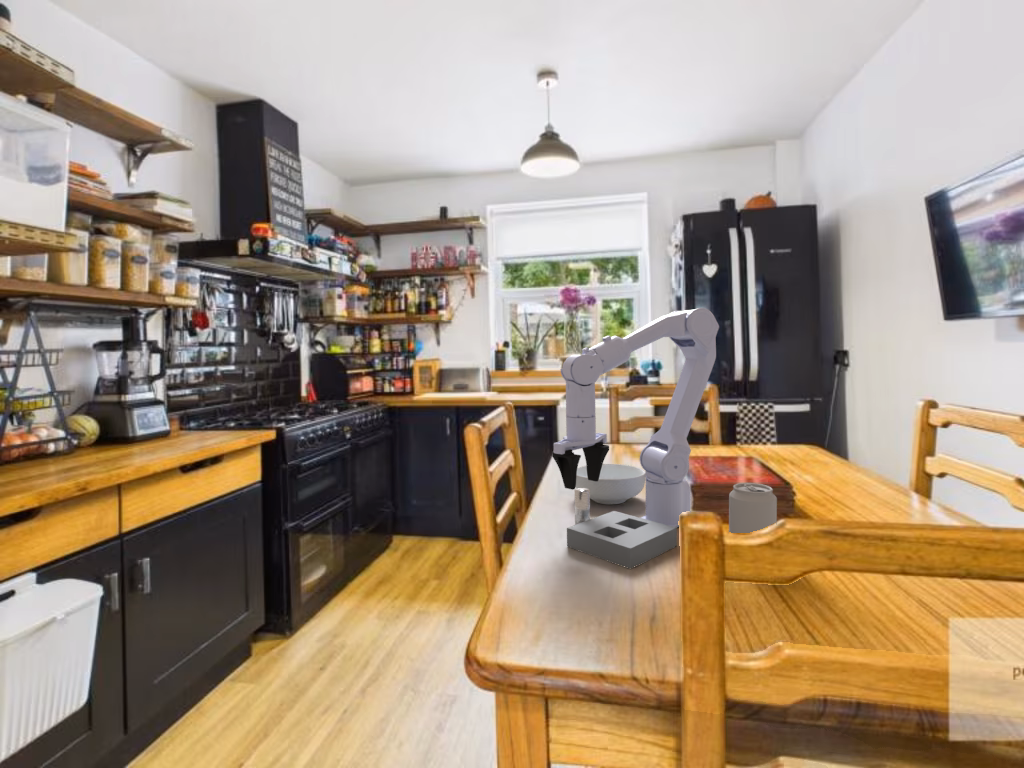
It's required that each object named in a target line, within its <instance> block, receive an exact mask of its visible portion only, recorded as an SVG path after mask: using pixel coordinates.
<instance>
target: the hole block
mask: <svg viewBox="0 0 1024 768" xmlns="http://www.w3.org/2000/svg"><path fill="white" fill-rule="evenodd" d="M677 528H678V527H673V526H669V525H665V524H661V523H658V522H654V521H650V520H646V519H643V518H640V517H638V516H635V515H631V514H627V513H624V512H621V511H616V510H612V511H610V512H607V513H603V514H601V515H599V516H598V515H597V516H596V517H593V518H590V520H587V521H584V522H582V523H579V524H576V525H575V524H574V525H572V526H571V525H570V526H568V527H566V547H567V546H568V547H567V548H570V547H571V549H573V550H576V549H577V550H576V551H578V550H579V551H578V552H581V551H582V552H581V553H585V554H586V555H589V554H590V556H593V557H595V558H598V559H601V558H602V559H601V560H603V559H605V560H604V561H606V560H608V561H607V562H609V561H610V562H609V563H612V562H613V564H615V563H616V564H615V565H617V564H619V565H618V566H620V565H622V566H621V567H623V566H625V567H624V568H626V567H628V568H627V569H629V568H632V567H634V566H636V565H638V566H640V565H641V563H642V564H644V563H646V562H648V561H650V560H652V559H654V558H656V557H658V556H660V555H662V554H664V553H666V552H668V551H670V550H672V549H674V548H676V547H677V546H678V545H677V543H678V542H677V541H678V540H677V536H678V535H677V530H678V529H677ZM675 546H676V547H675ZM671 548H672V549H671ZM669 549H670V550H669ZM667 550H668V551H667ZM665 551H666V552H665ZM663 552H664V553H663ZM661 553H662V554H661ZM659 554H660V555H659ZM651 558H652V559H651ZM645 561H646V562H645ZM643 562H644V563H643ZM639 564H640V565H639ZM636 567H637V566H636ZM634 568H635V567H634ZM632 569H633V568H632Z"/></svg>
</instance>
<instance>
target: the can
mask: <svg viewBox="0 0 1024 768" xmlns="http://www.w3.org/2000/svg"><path fill="white" fill-rule="evenodd" d="M732 487H733V489H732V491H730V492H729V494H728V496H729V497H728V533H729V532H731V533H750V532H753V531H757V530H760V529H763V528H765V527H767V526H769V525H771V524H773V523H775V522H776V523H777V520H778V519H777V517H778V516H777V514H778V513H777V511H778V510H777V509H778V506H777V505H778V504H777V503H778V498H777V496H776V495H775V494H774V493H773V491H774V489H773V488H772V487H771V486H769V485H765V484H762V483H756V482H755V483H754V482H739V483H735V484H733V486H732Z"/></svg>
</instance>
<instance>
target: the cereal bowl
mask: <svg viewBox="0 0 1024 768" xmlns="http://www.w3.org/2000/svg"><path fill="white" fill-rule="evenodd" d="M645 485H646V476H645V470H644V469H643V468H642V467H641V468H640V467H638V466H634V465H629V464H619V463H603V464H602V468H601V472H600V476H599V480H598V481H597V482H596V481H591V480H588V476H587V466H586V465H583V466H578V467H577V475H576V487H575V489H577V488H587V489H589V490H590V500H592V501H593V502H595V503H596V504H597V503H598V504H603V505H619V504H623V503H625V502H626V501H627V500H630V499H632V498H634V497H637V496H638V495H639V494H640V493H641V492H642V491H643V489H644V487H645Z"/></svg>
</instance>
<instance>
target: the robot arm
mask: <svg viewBox="0 0 1024 768" xmlns="http://www.w3.org/2000/svg"><path fill="white" fill-rule="evenodd" d="M719 329H720V325H719V323H718V321H717V319H716V317H715V315H714V314H713V313H712V311H710V309H708V308H705V307H698V308H695V309H686V310H674V311H671V312H670V313H669V314H665V315H661V316H660V317H658V318H656V319H654V320H652V321H650V322H649V323H647V324H645V325H644V326H642V327H640V328H638V329H636V330H635V331H633V332H631V333H629V334H628V335H626V336H624V337H620V336H617V335H613V336H611V335H606V336H603V337H602V338H601V340H602V341H601V342H599V343H597V344H595V345H593V346H591V347H584V348H582V349H581V351H582V353H581V354H572V355H569V356H568V357H567V358H566V359H565V361H563V363H562V367H561V368H560V374H561V377H562V378H563V380H564V381H565V417H566V419H565V420H566V421H565V424H566V427H565V428H566V432H565V434H566V435H565V436H562V439H561V440H559V441H557V442H553V451H552V452H551V453H552V454H551V455H552V459H553V460H554V462H555V463H556V465H557V467H558V470H559V471H560V476H561V479H562V482H563V486H564V488H565V489H568V490H571V491H573V490H575V489H576V475H577V468H578V467H579V463H580V460H581V457H582V455H580V454H575V452H574V451H576V450H579V449H580V450H581V449H582V451H583V455H584V459H585V466H587V476H588V480H591V481H596V482H597V481H598V480H599V476H600V472H601V468H602V464H604V461H605V459H606V456H607V454H608V453H609V452H610V445H609V444H607V443H608V442H607V433H602V432H597V430H596V429H597V428H596V427H597V426H596V425H597V424H596V419H597V418H596V382H598V380H599V378H600V376H602V375H604V374H606V373H608V372H610V371H612V370H613V369H616V368H617V367H620V366H621V365H623V364H625V363H627V362H628V361H629V359H630V356H631V354H632V353H633V352H635V351H637V350H639V349H641V348H643V347H645V346H648V345H650V344H652V343H653V342H656V341H658V340H660V339H663V338H669V339H670V340H671V341H672V342H673V344H675V345H676V346H677V347H678V349H680V350H681V352H682V354H683V356H684V358H685V361H684V365H683V367H682V370H681V372H680V374H679V377H678V379H677V383H676V385H675V389H674V391H673V394H672V396H671V400H670V402H669V404H668V407H667V411H666V413H665V415H664V417H663V421H662V424H661V426H660V429H659V430H658V431H657V432H655V433H654V434H652V435H651V436H650V439H649V441H648V443H647V444H646V445H645V446H644V447H643V449H641V452H640V455H639V463H640V466H641V469H643V470H644V471H645V476H646V477H645V515H643V516H641V517H639V518H643V519H646V520H650V521H654V522H658V523H661V524H665V525H669V526H673V527H676V528H678V527H680V526H679V525H678V521H679V515H680V514H681V513H682V512H686V511H690V512H691V487H690V484H689V482H688V480H686V476H687V475H688V474H689V473H688V472H689V469H690V462H689V461H690V460H689V459H690V456H691V455H690V454H691V452H692V449H691V445H689V442H688V440H687V438H688V436H689V432H690V430H691V427H692V425H693V422H694V420H695V417H696V414H697V411H698V408H699V405H700V402H701V400H702V397H703V394H704V392H705V389H706V386H707V384H708V380H709V379H710V376H711V373H712V370H713V367H714V364H715V363H716V362H715V361H716V359H717V345H716V344H717V343H716V337H717V334H718V332H719Z"/></svg>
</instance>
